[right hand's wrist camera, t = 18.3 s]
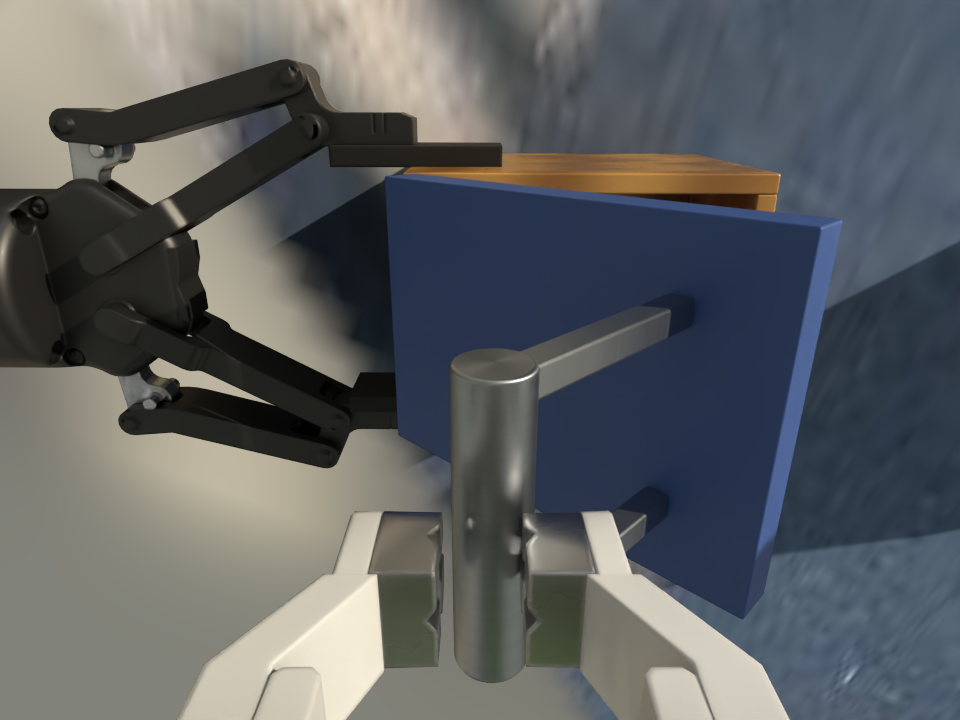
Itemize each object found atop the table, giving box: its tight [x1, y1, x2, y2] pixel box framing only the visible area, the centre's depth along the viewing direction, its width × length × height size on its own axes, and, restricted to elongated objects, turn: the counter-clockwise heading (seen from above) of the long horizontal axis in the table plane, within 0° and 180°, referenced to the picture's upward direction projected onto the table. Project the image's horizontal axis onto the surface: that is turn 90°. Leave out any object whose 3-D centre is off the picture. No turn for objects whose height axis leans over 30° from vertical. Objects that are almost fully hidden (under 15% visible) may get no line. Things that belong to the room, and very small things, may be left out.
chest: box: [403, 154, 780, 212], centre depth 28 cm, size 13×10×10 cm
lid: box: [385, 174, 842, 683], centre depth 16 cm, size 14×10×8 cm
